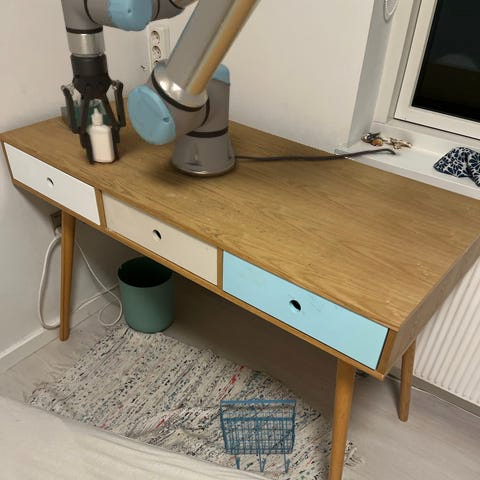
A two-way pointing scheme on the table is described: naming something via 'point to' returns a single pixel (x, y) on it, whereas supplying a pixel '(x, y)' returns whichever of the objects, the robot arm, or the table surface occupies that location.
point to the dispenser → (90, 112)
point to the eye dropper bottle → (100, 139)
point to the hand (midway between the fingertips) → (102, 158)
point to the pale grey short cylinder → (80, 101)
